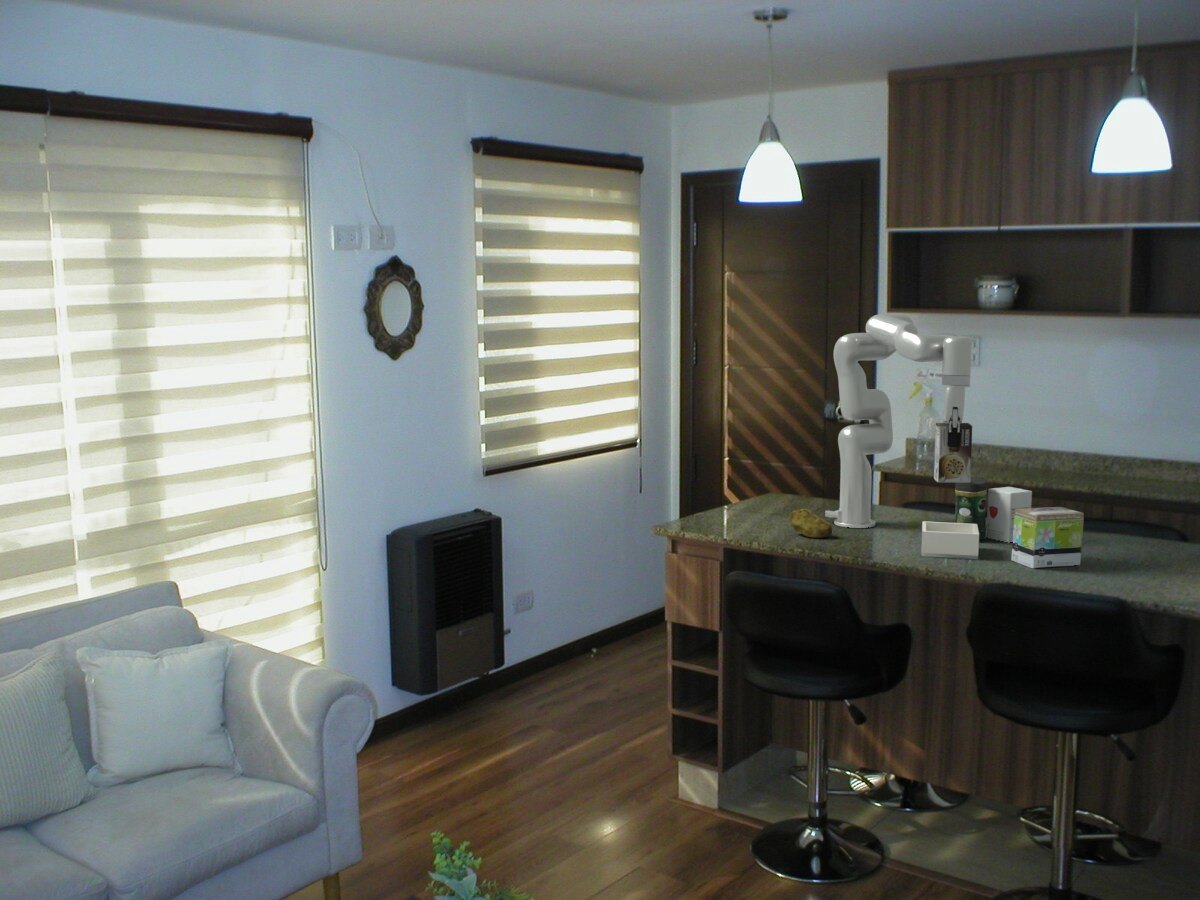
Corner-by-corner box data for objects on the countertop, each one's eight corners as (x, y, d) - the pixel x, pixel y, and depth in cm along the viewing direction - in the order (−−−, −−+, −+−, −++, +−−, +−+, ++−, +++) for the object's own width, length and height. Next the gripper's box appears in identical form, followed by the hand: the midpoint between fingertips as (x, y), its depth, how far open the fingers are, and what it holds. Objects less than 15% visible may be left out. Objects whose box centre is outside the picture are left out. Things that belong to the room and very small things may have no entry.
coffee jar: (964, 534, 353) (967, 474, 351) (989, 538, 348) (992, 477, 345) (948, 539, 346) (951, 477, 344) (973, 543, 341) (976, 480, 338)
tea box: (1033, 569, 309) (1036, 514, 307) (1010, 561, 319) (1013, 507, 317) (1082, 565, 314) (1085, 511, 312) (1057, 557, 323) (1060, 505, 321)
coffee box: (966, 479, 330) (968, 422, 328) (971, 483, 324) (973, 425, 321) (933, 478, 331) (935, 422, 329) (937, 482, 325) (939, 424, 322)
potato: (816, 541, 344) (817, 514, 343) (784, 534, 354) (784, 508, 353) (835, 537, 349) (836, 511, 348) (802, 531, 359) (803, 505, 358)
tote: (921, 556, 325) (922, 531, 324) (921, 545, 339) (922, 521, 338) (978, 559, 321) (979, 534, 320) (975, 547, 335) (976, 523, 334)
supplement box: (984, 537, 349) (987, 488, 347) (1006, 535, 353) (1009, 486, 351) (1008, 543, 341) (1010, 493, 339) (1030, 540, 345) (1032, 490, 343)
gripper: (941, 378, 333) (939, 440, 335) (942, 383, 316) (939, 448, 319) (969, 379, 331) (966, 441, 333) (971, 384, 314) (968, 449, 317)
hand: (953, 444), depth 326 cm, fingers closed on coffee box, 7 cm apart
